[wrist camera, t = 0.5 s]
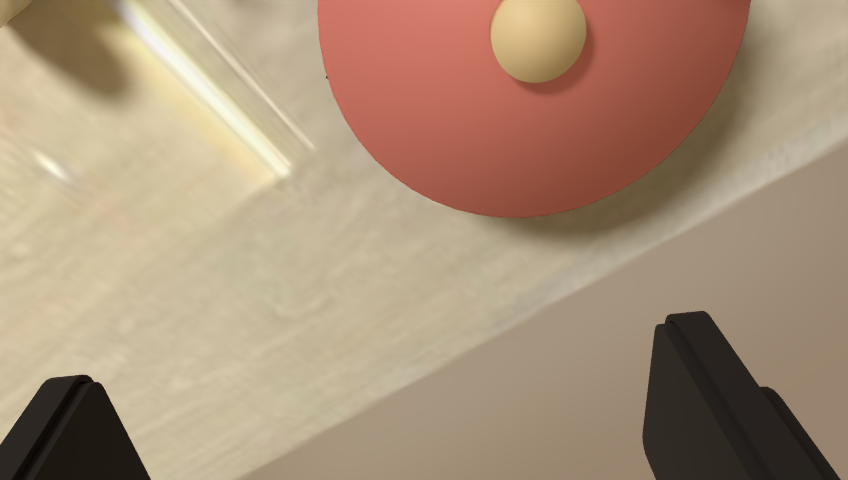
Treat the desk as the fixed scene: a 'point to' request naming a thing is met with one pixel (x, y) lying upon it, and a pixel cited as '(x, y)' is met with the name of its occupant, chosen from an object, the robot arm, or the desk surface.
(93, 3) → the desk surface
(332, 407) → the desk surface
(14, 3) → the valve
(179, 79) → the desk surface
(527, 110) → the handwheel
